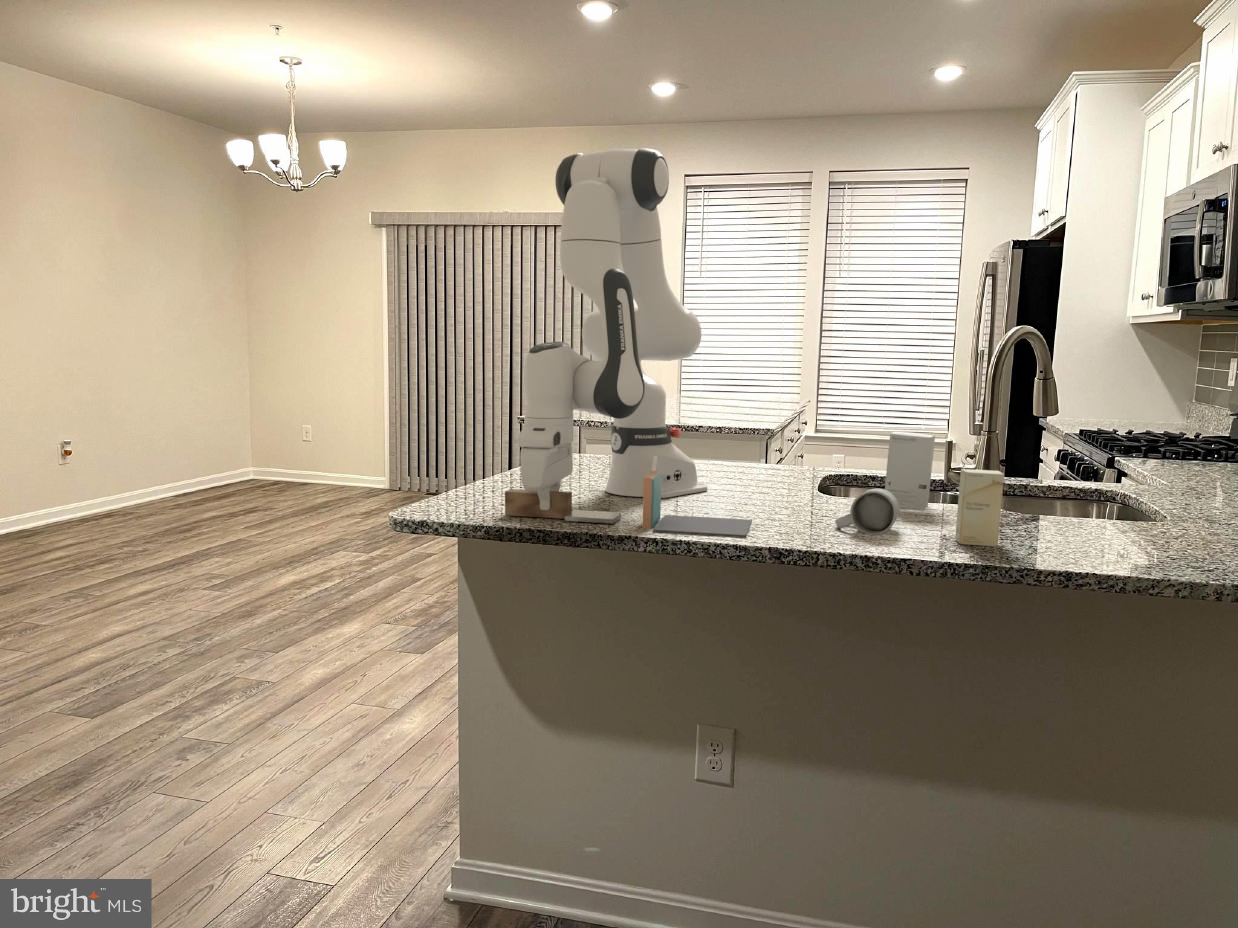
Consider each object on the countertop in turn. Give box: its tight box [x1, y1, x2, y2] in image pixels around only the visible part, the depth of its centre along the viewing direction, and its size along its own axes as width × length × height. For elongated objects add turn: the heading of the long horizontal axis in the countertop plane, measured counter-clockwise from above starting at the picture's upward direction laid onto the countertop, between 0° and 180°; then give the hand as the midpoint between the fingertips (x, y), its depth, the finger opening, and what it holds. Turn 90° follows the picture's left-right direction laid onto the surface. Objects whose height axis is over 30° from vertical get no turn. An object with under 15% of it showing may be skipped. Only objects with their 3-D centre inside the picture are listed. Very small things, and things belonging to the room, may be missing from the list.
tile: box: [642, 471, 662, 530], centre depth 161 cm, size 2×8×9 cm, turn 168°
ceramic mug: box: [834, 487, 900, 536], centre depth 159 cm, size 11×8×8 cm
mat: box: [652, 514, 753, 538], centre depth 160 cm, size 16×13×1 cm
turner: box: [504, 488, 622, 524], centre depth 166 cm, size 21×6×4 cm, turn 77°
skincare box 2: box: [954, 468, 1005, 547], centre depth 150 cm, size 6×4×12 cm
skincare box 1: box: [884, 431, 936, 511], centre depth 180 cm, size 8×6×15 cm
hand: (549, 506), depth 166 cm, fingers closed on turner, 3 cm apart
